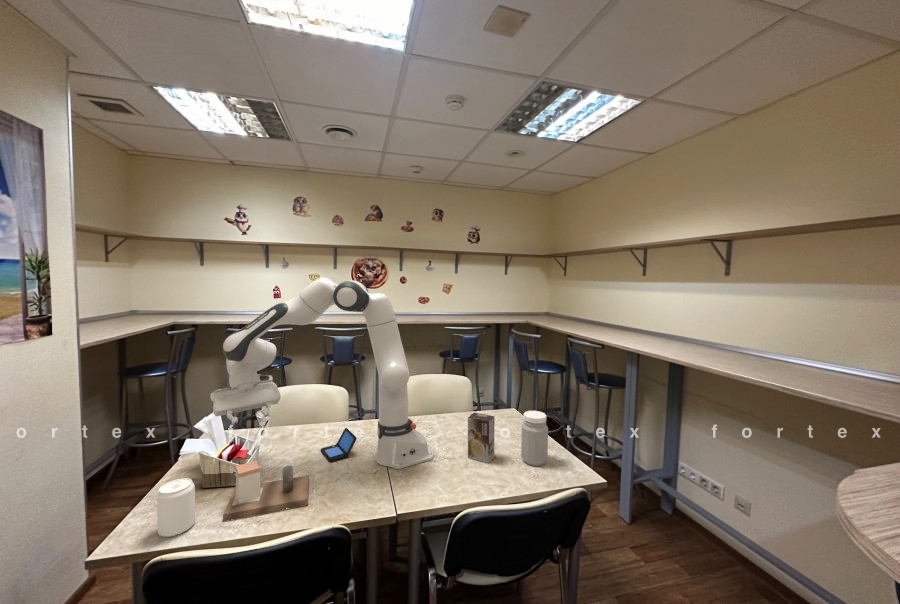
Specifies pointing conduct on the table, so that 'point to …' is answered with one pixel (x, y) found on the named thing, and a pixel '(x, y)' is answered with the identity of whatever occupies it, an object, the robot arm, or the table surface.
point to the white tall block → (248, 482)
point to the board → (271, 497)
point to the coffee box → (481, 437)
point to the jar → (534, 438)
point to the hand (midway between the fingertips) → (251, 419)
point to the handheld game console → (340, 447)
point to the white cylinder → (176, 507)
